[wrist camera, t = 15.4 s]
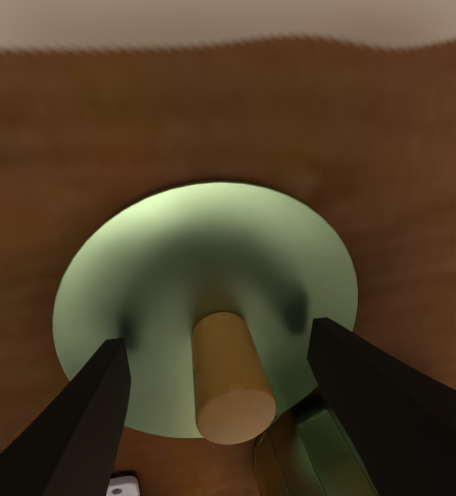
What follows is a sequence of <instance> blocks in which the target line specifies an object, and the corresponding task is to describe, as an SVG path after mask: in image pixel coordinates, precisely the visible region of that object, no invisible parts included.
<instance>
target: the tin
mask: <svg viewBox="0 0 456 496" xmlns="http://www.w3.org/2000/svg"><path fill="white" fill-rule="evenodd" d="M253 455H254V465H255V475H256V479H257V483H258V488H259V492H260V496H379V495H378V493H377V491H376V489H375V487H374V485H373V483H372V480H371V478H370V476H369V474H368V472H367V470H366V468H365V466H364V464H363V462H362V460H361V458H360V456H359V454H358V452H357V451H356V449H355V447H354V445H353V443H352V442H351V440H350V438H349V436H348V435H347V433H346V431H345V430H344V428H343V426H342V425H341V423H340V421H339V419H338V418H337V416H336V414H335V413H334V411H333V409H332V408H331V406H330V404H329V402H328V401H327V399H326V397H325V396H324V394H323V392H322V390H321V389H320V387H319V385H318V386H317V387H316V388H315V389H314V390H313V391H312V392H311V393H309V394H308V395H307V396H306V397H305V398H303V399H302V400H301V401H299V402H298V403H297V404H295V405H294V406H293V407H291V408H289V409H288V410H286V411H285V412H283V413H281V414H280V415H278V416H276V417H275V418H274V420H273V422H272V423H271V424H270V426H269V427H268V428H267V429H266V430H265V431H264V432H262V433H261V434H260V435H258V438H257V441H256V443H255V448H254V454H253Z"/></svg>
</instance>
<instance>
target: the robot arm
mask: <svg viewBox="0 0 456 496" xmlns="http://www.w3.org/2000/svg"><path fill="white" fill-rule="evenodd" d="M307 360H308V363H309V365H310V367H311V370H312V372H313V374H314V377H315V379H316V381H317V383H318V385H319V387H320V389H321V390H322V392H323V394H324V396H325V397H326V399H327V401H328V402H329V404H330V406H331V408H332V409H333V411H334V413H335V414H336V416H337V418H338V419H339V421H340V423H341V425H342V426H343V428H344V430H345V431H346V433H347V435H348V436H349V438H350V440H351V442H352V443H353V445H354V447H355V449H356V451H357V452H358V454H359V456H360V458H361V460H362V462H363V464H364V466H365V468H366V470H367V472H368V474H369V476H370V478H371V480H372V483H373V485H374V487H375V489H376V491H377V493H378V495H379V496H456V390H454V389H452V388H450V387H448V386H446V385H444V384H442V383H440V382H438V381H436V380H434V379H432V378H430V377H428V376H426V375H424V374H422V373H420V372H419V371H417V370H415V369H413V368H411V367H410V366H408V365H406V364H404V363H402V362H401V361H399V360H397V359H395V358H394V357H392V356H390V355H389V354H387V353H385V352H384V351H382V350H380V349H379V348H377V347H375V346H374V345H372V344H370V343H369V342H367V341H366V340H364V339H362V338H361V337H359V336H358V335H356V334H354V333H353V332H351V331H350V330H348V329H346V328H345V327H343V326H342V325H340V324H338V323H337V322H335V321H333V320H331V319H330V318H328V317H324V318H314V319H313V322H312V329H311V335H310V341H309V347H308V353H307ZM130 388H131V375H130V369H129V363H128V357H127V351H126V345H125V339H124V338H117V339H107V340H105V341H104V342H103V343H102V345H101V346H100V347H99V348H98V349H97V351H96V352H95V353H94V354H93V355H92V357H91V358H90V359H89V360H88V361H87V363H86V364H85V365H84V366H83V367H82V369H81V370H80V371H79V372H78V373H77V374H76V376H75V377H74V378H73V379H72V380H71V381H70V382H69V383H68V385H67V386H66V387H65V388H64V389H63V390H62V391H61V393H60V394H59V395H58V396H57V397H56V398H55V399H54V400H53V401H52V402H51V403H50V404H49V405H48V406H47V408H46V409H45V410H44V411H43V412H42V413H41V414H40V415H39V416H38V417H37V418H36V419H35V420H34V421H33V422H32V423H31V424H30V425H29V426H28V427H27V428H26V429H25V430H24V431H23V432H22V433H21V434H20V435H19V436H18V437H17V438H16V439H15V440H14V441H13V442H12V443H11V444H10V445H9V446H8V447H7V448H6V449H5V450H4V451H3V452H2V453H1V454H0V496H140V491H139V486H138V480H137V478H136V477H134V476H123V477H118V478H113V479H110V478H111V474H112V470H113V466H114V462H115V458H116V455H117V451H118V447H119V443H120V439H121V435H122V431H123V427H124V423H125V418H126V414H127V409H128V403H129V396H130Z"/></svg>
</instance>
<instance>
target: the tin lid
mask: <svg viewBox="0 0 456 496" xmlns="http://www.w3.org/2000/svg"><path fill="white" fill-rule="evenodd" d="M357 307H358V286H357V278H356V273H355V269H354V266H353V263H352V259H351V257H350V255H349V253H348V251H347V249H346V247H345V244H344V243H343V241H342V240H341V238H340V237H339V235H338V234H337V233H336V231H335V230H334V228H333V227H332V226H331V225H330V224H329V223H328V222H327V221H326V220H325V219H324V218H323V217H322V216H321V215H320V214H318V213H317V212H316V211H314V210H313V209H312V208H310V207H309V206H308V205H306V204H305V203H303V202H301V201H299V200H297V199H295V198H294V197H292V196H290V195H288V194H286V193H283V192H280V191H278V190H275V189H272V188H269V187H266V186H264V185H259V184H254V183H249V182H244V181H233V180H207V181H194V182H189V183H185V184H180V185H175V186H171V187H168V188H165V189H162V190H160V191H157V192H154V193H151V194H148V195H146V196H144V197H142V198H140V199H139V200H137V201H135V202H133V203H131V204H129V205H127V206H125V207H124V208H123V209H121V210H120V211H118V212H117V213H116V214H114V215H113V216H111V217H110V218H109V219H107V220H106V221H105V222H104V223H103V224H102V225H101V226H100V227H99V228H98V229H97V230H96V231H95V232H93V233H92V234H91V235H90V236H89V237H88V238H87V239H86V240H85V242H84V243H83V244H82V246H81V247H80V248H79V250H78V251H77V252H76V253H75V255H74V256H73V257H72V259H71V261H70V263H69V265H68V267H67V268H66V270H65V272H64V274H63V276H62V278H61V281H60V284H59V287H58V290H57V293H56V296H55V301H54V307H53V314H52V332H53V340H54V345H55V350H56V354H57V357H58V359H59V362H60V364H61V367H62V369H63V371H64V373H65V375H66V376H67V378H68V380H69V381H71V380H72V379H73V378H74V377H75V376H76V374H77V373H78V372H79V371H80V370H81V369H82V367H83V366H84V365H85V364H86V363H87V361H88V360H89V359H90V358H91V357H92V355H93V354H94V353H95V352H96V351H97V349H98V348H99V347H100V346H101V345H102V343H103V342H104V341H105V340H107V339H117V338H124V339H125V345H126V351H127V357H128V363H129V369H130V375H131V388H130V396H129V403H128V409H127V414H126V418H125V423H124V426H127V427H129V428H132V429H135V430H138V431H141V432H145V433H149V434H153V435H158V436H165V437H173V438H205V439H207V440H208V441H210V442H213V443H217V444H224V445H230V444H238V443H242V442H245V441H248V440H250V439H252V438H254V437H256V436H258V435H260V434H261V433H262V432H264V431H265V430H266V429H267V428H268V427H269V426H270V424H271V423H272V422H273V420H274V418H275V417H276V416H278V415H280V414H281V413H283V412H285V411H286V410H288V409H289V408H291V407H293V406H294V405H295V404H297V403H298V402H299V401H301V400H302V399H303V398H305V397H306V396H307V395H308V394H309V393H311V392H312V391H313V390H314V389H315V388H316V387H317V386H318V383H317V381H316V379H315V377H314V374H313V372H312V370H311V367H310V365H309V363H308V360H307V353H308V347H309V341H310V335H311V329H312V322H313V319H314V318H324V317H328V318H330V319H331V320H333V321H335V322H337V323H338V324H340V325H342V326H343V327H345V328H346V329H348V330H350V331H351V332H352V330H353V327H354V323H355V320H356V313H357Z"/></svg>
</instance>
